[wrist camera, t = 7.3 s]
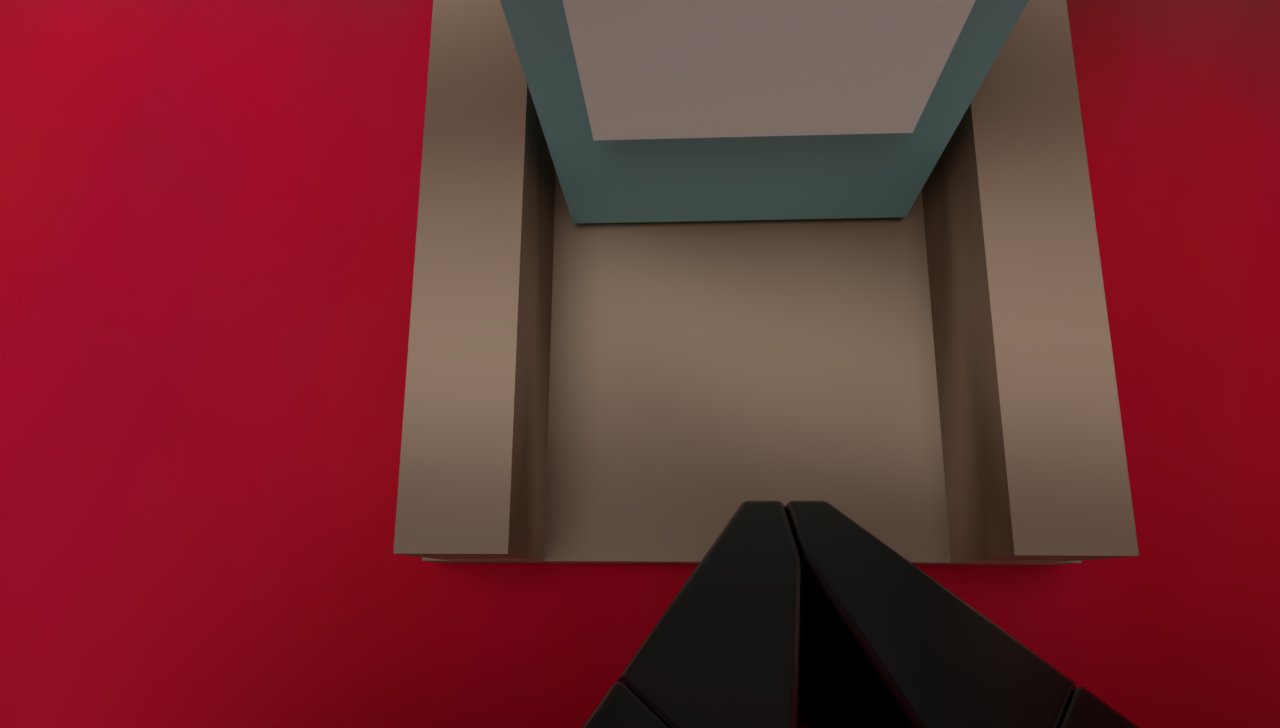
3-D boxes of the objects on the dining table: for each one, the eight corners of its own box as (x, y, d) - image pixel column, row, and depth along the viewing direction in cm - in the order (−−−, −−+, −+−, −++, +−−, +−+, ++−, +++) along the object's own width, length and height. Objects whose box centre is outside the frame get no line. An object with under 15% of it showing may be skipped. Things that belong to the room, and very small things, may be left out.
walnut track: (1057, 564, 16) (1178, 556, 12) (437, 562, 16) (358, 553, 12) (987, -78, 19) (1063, -251, 15) (475, -59, 19) (421, -221, 16)
